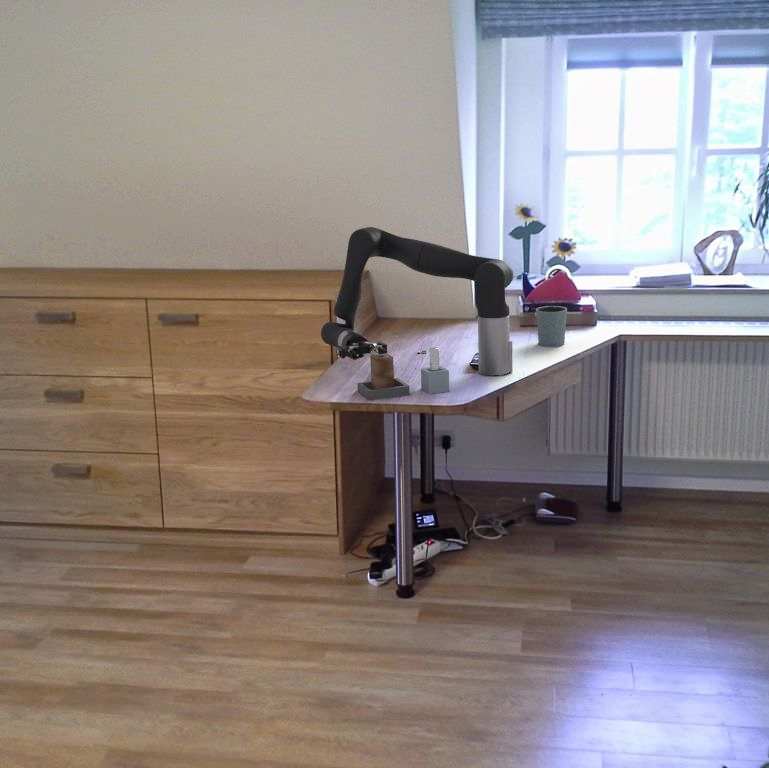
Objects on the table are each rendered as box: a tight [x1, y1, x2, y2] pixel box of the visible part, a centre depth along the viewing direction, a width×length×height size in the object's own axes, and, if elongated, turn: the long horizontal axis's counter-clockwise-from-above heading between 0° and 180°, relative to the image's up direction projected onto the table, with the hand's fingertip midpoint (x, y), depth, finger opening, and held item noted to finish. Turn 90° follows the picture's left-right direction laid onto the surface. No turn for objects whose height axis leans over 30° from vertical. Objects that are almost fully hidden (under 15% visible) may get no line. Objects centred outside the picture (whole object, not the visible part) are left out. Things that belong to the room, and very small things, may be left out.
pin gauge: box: [429, 346, 440, 372], centre depth 257 cm, size 3×3×12 cm
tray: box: [356, 377, 411, 401], centre depth 258 cm, size 12×10×2 cm
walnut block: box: [369, 353, 395, 390], centre depth 257 cm, size 5×5×10 cm
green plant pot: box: [535, 305, 568, 348], centre depth 306 cm, size 10×10×12 cm
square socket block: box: [420, 365, 450, 395], centre depth 258 cm, size 6×6×6 cm
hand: (369, 354), depth 266 cm, fingers open, 8 cm apart
